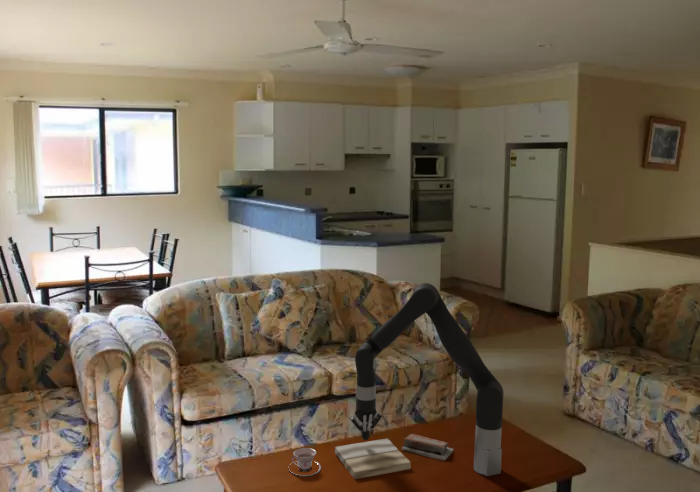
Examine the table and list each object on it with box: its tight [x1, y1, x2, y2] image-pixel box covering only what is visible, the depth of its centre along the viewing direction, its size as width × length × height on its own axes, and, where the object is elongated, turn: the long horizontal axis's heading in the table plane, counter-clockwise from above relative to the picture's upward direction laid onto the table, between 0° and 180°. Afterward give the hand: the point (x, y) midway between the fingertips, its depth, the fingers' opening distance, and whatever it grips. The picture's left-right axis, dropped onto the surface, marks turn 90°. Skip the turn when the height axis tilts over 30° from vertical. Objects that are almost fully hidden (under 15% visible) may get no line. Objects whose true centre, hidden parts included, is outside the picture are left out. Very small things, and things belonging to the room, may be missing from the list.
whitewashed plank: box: [334, 438, 399, 466], centre depth 256 cm, size 10×22×2 cm, turn 112°
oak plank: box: [344, 450, 412, 480], centre depth 246 cm, size 10×22×3 cm, turn 112°
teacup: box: [287, 447, 322, 477], centre depth 244 cm, size 12×12×6 cm
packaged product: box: [401, 433, 454, 462], centre depth 260 cm, size 18×5×10 cm
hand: (365, 439), depth 256 cm, fingers closed
